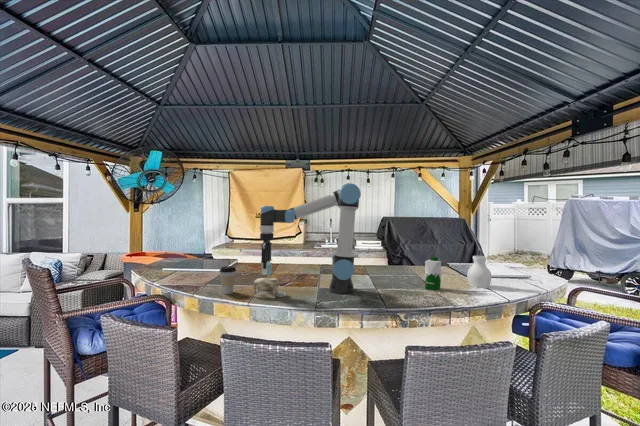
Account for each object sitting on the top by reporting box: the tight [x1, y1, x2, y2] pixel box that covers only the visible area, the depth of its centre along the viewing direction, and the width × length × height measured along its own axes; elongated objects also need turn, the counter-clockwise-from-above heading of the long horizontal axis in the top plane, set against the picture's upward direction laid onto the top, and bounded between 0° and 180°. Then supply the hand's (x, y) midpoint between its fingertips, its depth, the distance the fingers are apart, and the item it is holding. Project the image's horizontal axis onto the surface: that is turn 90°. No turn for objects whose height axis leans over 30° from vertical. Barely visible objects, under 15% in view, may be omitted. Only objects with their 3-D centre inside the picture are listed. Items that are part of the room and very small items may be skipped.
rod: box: [251, 289, 286, 298], centre depth 169 cm, size 19×3×3 cm, turn 80°
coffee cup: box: [219, 265, 237, 295], centre depth 173 cm, size 9×9×15 cm
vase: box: [466, 255, 492, 289], centre depth 194 cm, size 14×14×20 cm
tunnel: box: [253, 277, 279, 299], centre depth 168 cm, size 12×9×9 cm
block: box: [260, 262, 273, 276], centre depth 168 cm, size 5×5×6 cm
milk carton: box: [424, 256, 442, 291], centre depth 187 cm, size 9×9×20 cm
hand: (266, 273), depth 168 cm, fingers closed on block, 5 cm apart
